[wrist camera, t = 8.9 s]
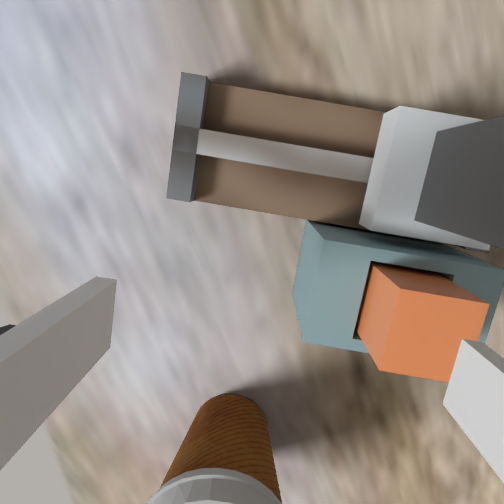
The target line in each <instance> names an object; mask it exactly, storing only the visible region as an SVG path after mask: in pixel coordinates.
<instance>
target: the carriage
mask: <svg viewBox="0 0 504 504" xmlns="http://www.w3.org/2000/svg"><path fill="white" fill-rule="evenodd" d="M359 224H360V225H362V226H364V227H365V228H367V229H369V230H371V231H376V232H382V233H388V234H394V235H400V236H406V237H412V238H418V239H423V240H429V241H435V242H441V243H447V244H453V245H459V246H465V247H471V248H476V249H482V250H488V251H489V249H490V246H491V245H492V246H495V247H498V248H501V249H504V116H500V117H496V118H491V119H487V120H482V119H476V118H470V117H464V116H458V115H452V114H447V113H441V112H435V111H429V110H423V109H417V108H411V107H405V106H398V107H396V108H394V109H392V110H390V111H388V112H386V113H384V114H383V119H382V123H381V128H380V132H379V136H378V141H377V145H376V150H375V154H374V159H373V163H372V167H371V172H370V176H369V181H368V185H367V190H366V194H365V198H364V203H363V207H362V212H361V216H360V221H359Z"/></svg>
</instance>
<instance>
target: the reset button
mask: <svg viewBox="0 0 504 504" xmlns="http://www.w3.org/2000/svg"><path fill="white" fill-rule="evenodd" d="M489 305H490V304H489V303H487V302H486V301H484V300H482V299H481V298H479V297H477V296H475V295H474V294H472V293H470V292H469V291H467V290H465V289H464V288H462V287H460V286H458V285H457V284H455V283H453V282H452V281H450V280H448V279H446V278H445V277H443V276H441V275H440V274H438V273H436V272H435V271H429V270H423V269H417V268H411V267H405V266H400V265H394V264H388V263H382V262H376V261H371V262H370V266H369V270H368V275H367V279H366V283H365V287H364V291H363V296H362V300H361V304H360V308H359V313H358V317H357V321H356V325H355V329H356V331H357V333H358V334H359V336H360V338H361V340H362V341H363V343H364V345H365V347H366V348H367V350H368V352H369V354H370V355H371V357H372V359H373V360H374V362H375V364H376V366H377V367H378V369H379V371H385V372H391V373H397V374H403V375H409V376H415V377H420V378H426V379H432V380H438V381H444V382H449V381H450V377H451V374H452V371H453V367H454V364H455V361H456V357H457V354H458V351H459V347H460V344H461V340H462V339H467V340H473V341H478V340H479V337H480V334H481V331H482V327H483V324H484V321H485V318H486V314H487V311H488V308H489Z"/></svg>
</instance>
